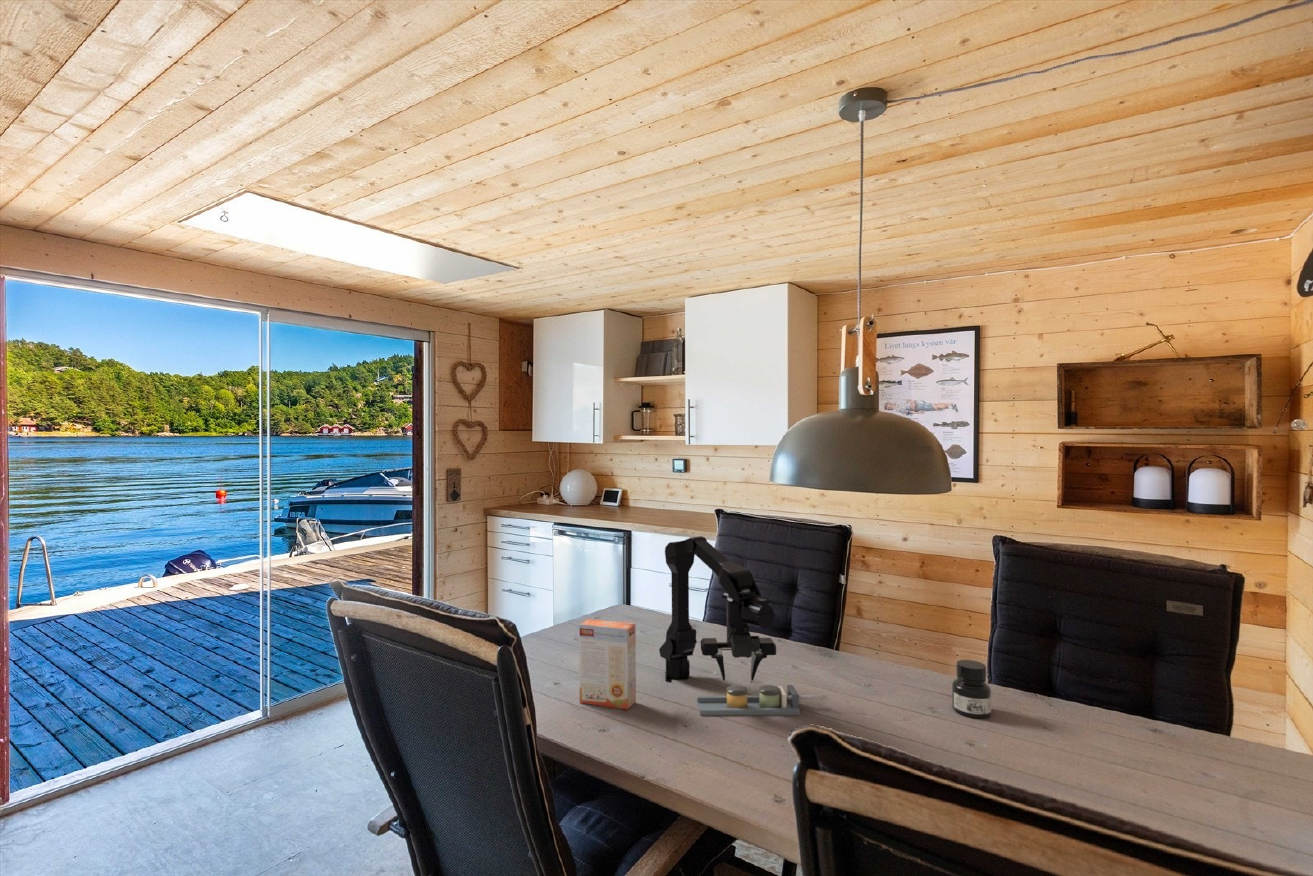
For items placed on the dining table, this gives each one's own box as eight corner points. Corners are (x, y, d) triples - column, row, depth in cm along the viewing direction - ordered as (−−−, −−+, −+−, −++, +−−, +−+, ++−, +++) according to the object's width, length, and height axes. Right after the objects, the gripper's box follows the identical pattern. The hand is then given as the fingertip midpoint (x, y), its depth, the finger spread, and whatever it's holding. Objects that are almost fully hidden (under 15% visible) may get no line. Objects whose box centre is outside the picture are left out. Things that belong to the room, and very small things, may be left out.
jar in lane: (760, 711, 156) (760, 693, 156) (757, 702, 161) (757, 685, 161) (782, 711, 156) (782, 693, 156) (777, 702, 161) (777, 685, 161)
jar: (727, 712, 156) (727, 693, 156) (725, 703, 161) (725, 685, 161) (749, 711, 156) (749, 693, 156) (745, 702, 161) (745, 685, 161)
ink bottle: (952, 715, 155) (952, 667, 155) (948, 702, 163) (948, 656, 164) (995, 721, 152) (995, 672, 152) (990, 707, 160) (989, 661, 160)
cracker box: (636, 702, 163) (636, 622, 163) (627, 711, 158) (627, 629, 158) (589, 694, 168) (589, 617, 168) (578, 703, 163) (578, 623, 163)
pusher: (782, 710, 156) (782, 694, 156) (777, 701, 162) (777, 685, 162) (829, 710, 156) (829, 694, 156) (823, 700, 162) (823, 685, 162)
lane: (700, 717, 154) (700, 697, 154) (697, 702, 163) (697, 683, 163) (799, 716, 154) (799, 696, 154) (791, 702, 163) (791, 683, 163)
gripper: (704, 628, 150) (704, 693, 150) (781, 628, 151) (781, 692, 150) (700, 615, 161) (700, 675, 161) (771, 615, 162) (771, 675, 162)
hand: (737, 680), depth 158 cm, fingers open, 7 cm apart
